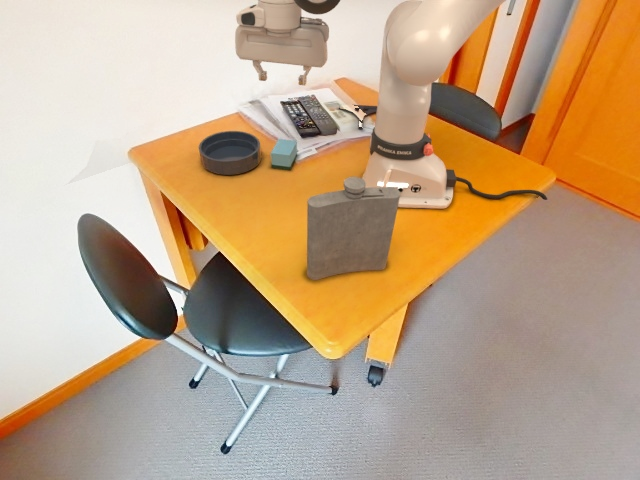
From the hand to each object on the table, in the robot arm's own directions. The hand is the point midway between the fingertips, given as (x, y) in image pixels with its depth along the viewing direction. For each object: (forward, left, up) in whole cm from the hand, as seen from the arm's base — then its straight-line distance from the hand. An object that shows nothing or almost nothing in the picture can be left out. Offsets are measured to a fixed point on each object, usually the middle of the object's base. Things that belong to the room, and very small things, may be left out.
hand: (282, 82), depth 92 cm
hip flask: (-22, +35, -21) cm, 46 cm away
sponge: (0, 0, -21) cm, 21 cm away
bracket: (-16, -30, -21) cm, 40 cm away
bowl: (+14, +3, -21) cm, 25 cm away
